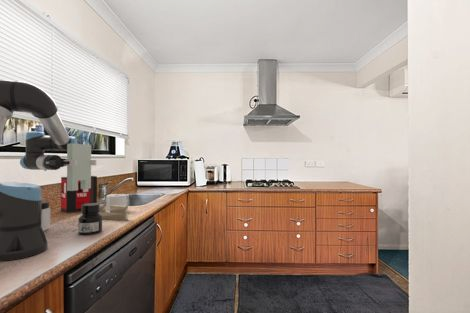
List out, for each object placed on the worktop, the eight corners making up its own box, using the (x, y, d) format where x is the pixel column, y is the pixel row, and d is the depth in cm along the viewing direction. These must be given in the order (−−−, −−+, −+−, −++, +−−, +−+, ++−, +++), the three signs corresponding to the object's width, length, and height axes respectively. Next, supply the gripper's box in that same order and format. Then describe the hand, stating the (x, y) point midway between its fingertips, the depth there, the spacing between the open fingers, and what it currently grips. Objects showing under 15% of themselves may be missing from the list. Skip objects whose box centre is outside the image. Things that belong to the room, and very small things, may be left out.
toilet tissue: (114, 215, 140) (115, 197, 140) (100, 213, 145) (100, 195, 145) (130, 211, 150) (130, 194, 150) (116, 209, 155) (116, 193, 155)
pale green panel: (72, 190, 117) (72, 143, 117) (66, 190, 118) (67, 143, 118) (90, 188, 128) (91, 144, 128) (85, 188, 129) (86, 144, 129)
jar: (22, 233, 105) (23, 205, 105) (25, 229, 112) (25, 202, 112) (49, 230, 110) (49, 203, 110) (50, 226, 117) (50, 200, 117)
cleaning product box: (90, 206, 164) (90, 175, 164) (96, 208, 158) (96, 176, 158) (60, 210, 150) (61, 177, 150) (66, 212, 145) (67, 178, 145)
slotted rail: (124, 220, 128) (124, 206, 128) (88, 217, 133) (88, 204, 133) (127, 219, 131) (127, 205, 131) (91, 216, 136) (91, 203, 136)
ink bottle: (72, 235, 104) (72, 206, 104) (84, 229, 113) (85, 202, 113) (96, 235, 104) (96, 206, 104) (106, 229, 113) (107, 202, 113)
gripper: (70, 168, 139) (104, 169, 134) (25, 170, 116) (64, 171, 111) (70, 155, 139) (104, 155, 134) (25, 154, 116) (64, 154, 111)
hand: (86, 162), depth 122 cm, fingers closed on pale green panel, 11 cm apart
